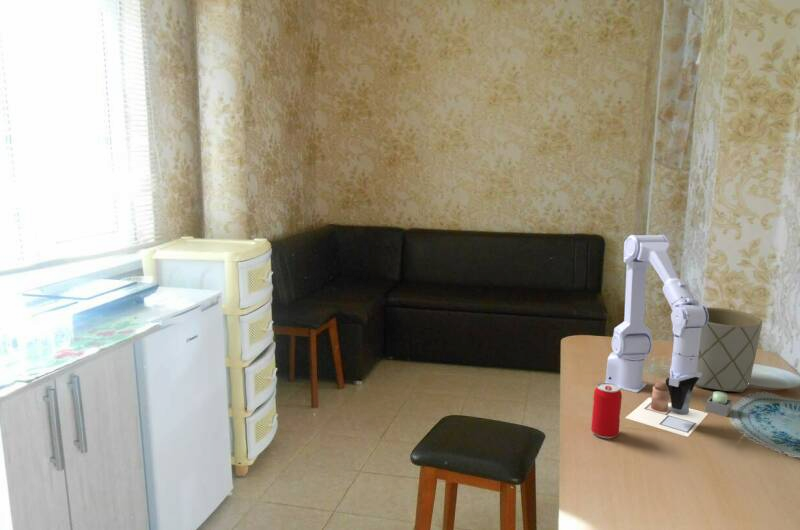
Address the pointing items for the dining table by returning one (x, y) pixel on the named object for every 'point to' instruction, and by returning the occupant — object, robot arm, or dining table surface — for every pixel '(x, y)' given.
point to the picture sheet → (667, 418)
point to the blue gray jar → (685, 406)
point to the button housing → (718, 407)
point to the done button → (720, 398)
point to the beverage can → (606, 410)
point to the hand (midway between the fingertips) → (679, 405)
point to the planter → (728, 349)
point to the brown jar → (660, 397)
